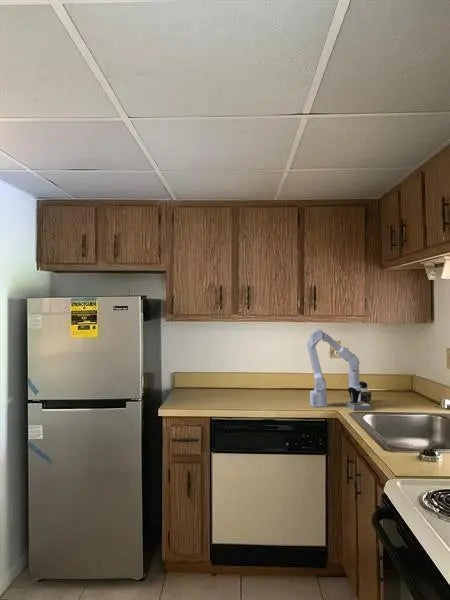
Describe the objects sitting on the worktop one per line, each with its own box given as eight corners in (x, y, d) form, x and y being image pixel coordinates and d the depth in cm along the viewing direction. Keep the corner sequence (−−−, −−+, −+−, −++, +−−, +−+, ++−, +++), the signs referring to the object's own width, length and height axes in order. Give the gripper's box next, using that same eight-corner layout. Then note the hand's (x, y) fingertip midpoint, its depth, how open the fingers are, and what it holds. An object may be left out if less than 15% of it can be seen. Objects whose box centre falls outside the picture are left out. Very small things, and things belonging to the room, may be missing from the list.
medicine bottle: (360, 403, 288) (360, 383, 288) (354, 401, 295) (354, 381, 295) (371, 402, 290) (371, 382, 290) (364, 400, 297) (364, 380, 297)
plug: (352, 405, 277) (352, 393, 277) (350, 404, 280) (350, 392, 280) (357, 405, 277) (357, 392, 277) (355, 404, 280) (355, 391, 280)
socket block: (354, 410, 269) (354, 406, 269) (346, 405, 282) (346, 401, 282) (371, 410, 270) (371, 405, 270) (363, 405, 283) (363, 400, 283)
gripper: (365, 379, 272) (365, 403, 272) (356, 375, 286) (356, 398, 286) (353, 379, 271) (353, 404, 271) (344, 375, 286) (344, 398, 286)
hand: (354, 401), depth 279 cm, fingers closed on plug, 3 cm apart
